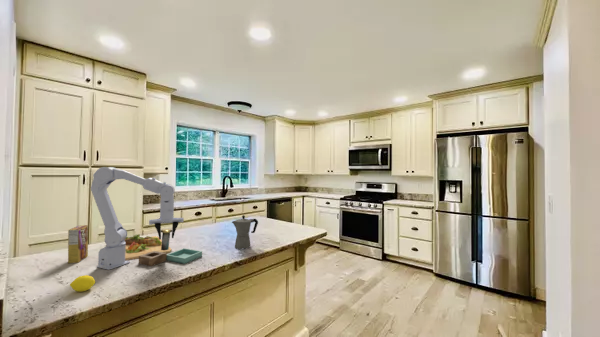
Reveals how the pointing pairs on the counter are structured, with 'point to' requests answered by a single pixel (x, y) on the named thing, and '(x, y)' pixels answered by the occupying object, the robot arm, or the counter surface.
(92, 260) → the counter surface
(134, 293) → the counter surface
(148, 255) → the block
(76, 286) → the lemon
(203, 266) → the counter surface
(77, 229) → the candy box
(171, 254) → the tray
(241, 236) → the coffeepot
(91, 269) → the counter surface
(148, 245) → the cutting board
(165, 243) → the pin
